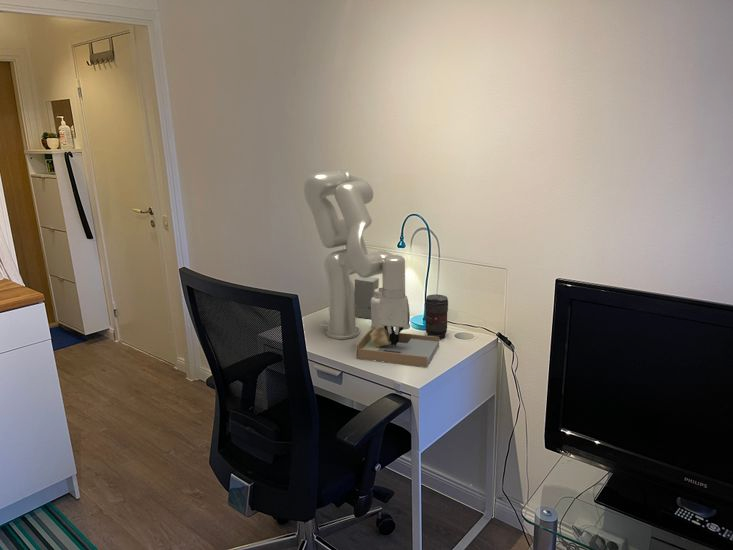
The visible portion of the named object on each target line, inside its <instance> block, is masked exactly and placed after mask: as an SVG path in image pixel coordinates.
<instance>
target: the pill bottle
mask: <svg viewBox="0 0 733 550" xmlns="http://www.w3.org/2000/svg"><path fill="white" fill-rule="evenodd" d="M379 288H380V287H378V289H375V290H374V297H372V298H371V319H370V320H371V321H370V322H371V329H372V328H373V327H374V326H375V328H376V329H377V328H380V326H379V323H378V310H379V301H380V296H382V292H379Z"/></svg>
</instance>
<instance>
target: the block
mask: <svg viewBox="0 0 733 550" xmlns="http://www.w3.org/2000/svg"><path fill="white" fill-rule="evenodd" d="M370 335H371V338H372V340H373V343H374V346H375V348H376V347H380V346H384V345H388V344H389V343H390V334H389V333H388V331H387V330H386V329H385V328H383V327H380V328H377V329H374V330H373V331H372V333H371V334H370Z"/></svg>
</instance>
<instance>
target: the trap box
mask: <svg viewBox="0 0 733 550" xmlns="http://www.w3.org/2000/svg"><path fill="white" fill-rule="evenodd" d="M374 329H376V328H375V326H374V327H373V328H372V327H371V329H370V330H369V331H368V332H366V334H365V335H364V336H363V337H362V338H361V339H360V340H359V341H358V343H356V344H355V346H356V347H355V348H356V349H355V350H356V359H358V360H364V359H367V360H366V361H372V360H376V361H375V362H380V361H384V362H383V363H388V362H390V363H389V364H396V363H397V364H396V365H405V366H412V365H414V366H413V367H420V366H423V367H422V368H427V367H428V366H429V365H428V364H430V363H431V361H432V359H433V358H432V357H434V356H433V355H435V354H436V353H435V352H437V351H438V349H439V347H440V339H439V337H435V336H427V334H426V335H425V334H417V333H416V334H415V333H406V332H405V333H404V332H400V333H399V342H398V343H397V344H396V345H394V344H393V345H391V342H390V343H389V344H388V345H384V346H380V347H376V348H375V346H374V343H373V340H372V338H371V335H370V334H371V333H372V331H373V330H374ZM437 348H438V349H437ZM436 350H437V351H436ZM430 360H431V361H430ZM429 362H430V363H429Z"/></svg>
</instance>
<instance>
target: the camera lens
mask: <svg viewBox="0 0 733 550" xmlns="http://www.w3.org/2000/svg"><path fill="white" fill-rule="evenodd" d="M424 305H425V306H424V307H425V316H424V320H425V332H426V336H435V337H439V340H442V338H443V339H444V338H446V335H447V332H448V310H449V298H448V296H446V295H443V294H429V295H427V296H426V297H425V304H424Z"/></svg>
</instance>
